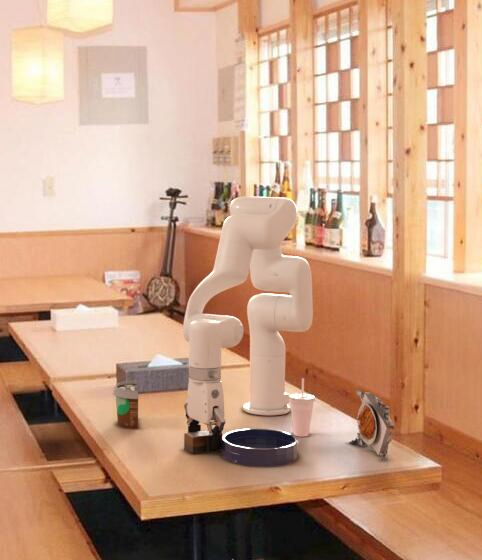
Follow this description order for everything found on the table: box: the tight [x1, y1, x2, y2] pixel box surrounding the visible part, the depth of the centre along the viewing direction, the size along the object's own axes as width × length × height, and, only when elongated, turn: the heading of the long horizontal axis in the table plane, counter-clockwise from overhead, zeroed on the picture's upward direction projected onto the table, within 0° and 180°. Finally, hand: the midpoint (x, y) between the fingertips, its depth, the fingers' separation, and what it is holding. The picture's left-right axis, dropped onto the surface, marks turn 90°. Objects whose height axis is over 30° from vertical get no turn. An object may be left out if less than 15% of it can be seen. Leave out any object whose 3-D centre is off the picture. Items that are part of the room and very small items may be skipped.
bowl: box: [221, 428, 299, 468], centre depth 241 cm, size 17×17×4 cm
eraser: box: [183, 429, 223, 455], centre depth 245 cm, size 8×4×4 cm, turn 120°
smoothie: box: [289, 377, 316, 438], centre depth 259 cm, size 6×6×14 cm
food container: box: [112, 380, 139, 430], centre depth 267 cm, size 12×6×10 cm, turn 5°
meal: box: [348, 389, 395, 461], centre depth 245 cm, size 15×4×13 cm, turn 19°
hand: (203, 446), depth 245 cm, fingers open, 8 cm apart
